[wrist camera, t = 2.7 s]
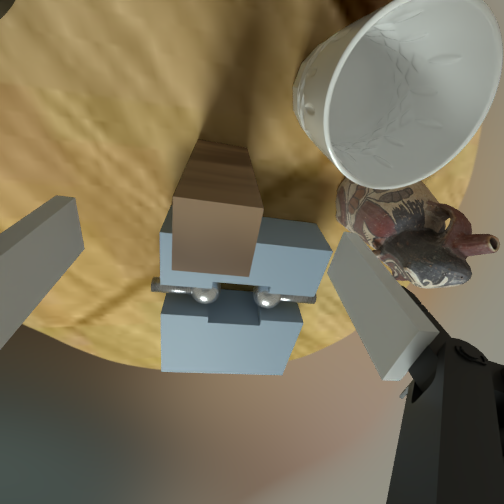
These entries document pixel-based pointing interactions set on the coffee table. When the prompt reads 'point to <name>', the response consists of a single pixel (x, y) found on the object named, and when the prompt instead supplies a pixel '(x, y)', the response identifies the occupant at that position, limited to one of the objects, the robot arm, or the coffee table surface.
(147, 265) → the coffee table surface
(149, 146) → the coffee table surface
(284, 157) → the coffee table surface
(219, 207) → the peg
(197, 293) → the plunger
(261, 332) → the socket board
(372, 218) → the figurine
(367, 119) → the white cup
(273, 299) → the plunger
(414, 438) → the robot arm
